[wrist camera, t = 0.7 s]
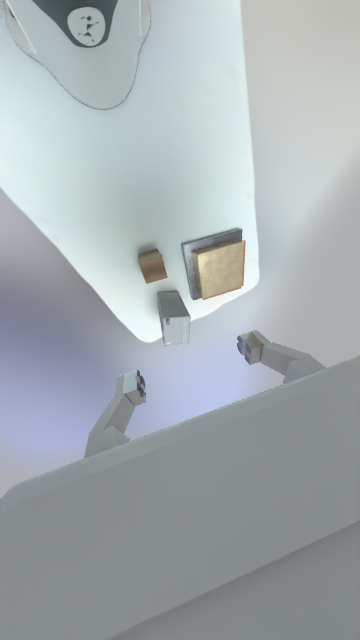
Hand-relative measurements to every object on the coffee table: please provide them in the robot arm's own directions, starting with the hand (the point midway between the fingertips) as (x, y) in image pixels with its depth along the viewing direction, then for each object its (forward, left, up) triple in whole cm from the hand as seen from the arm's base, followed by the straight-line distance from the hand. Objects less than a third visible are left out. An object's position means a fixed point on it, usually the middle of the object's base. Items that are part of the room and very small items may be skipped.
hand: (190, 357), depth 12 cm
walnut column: (0, -1, -35) cm, 35 cm away
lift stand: (+6, +17, -35) cm, 39 cm away
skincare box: (+14, 0, -35) cm, 37 cm away
